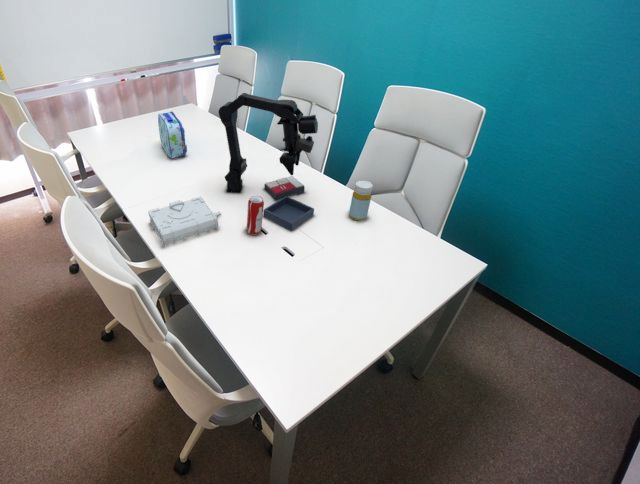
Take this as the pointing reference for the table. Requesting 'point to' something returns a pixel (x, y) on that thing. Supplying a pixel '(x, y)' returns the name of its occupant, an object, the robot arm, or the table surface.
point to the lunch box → (172, 135)
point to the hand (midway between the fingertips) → (294, 170)
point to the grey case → (183, 220)
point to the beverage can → (255, 215)
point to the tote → (288, 213)
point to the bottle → (360, 200)
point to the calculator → (284, 187)
